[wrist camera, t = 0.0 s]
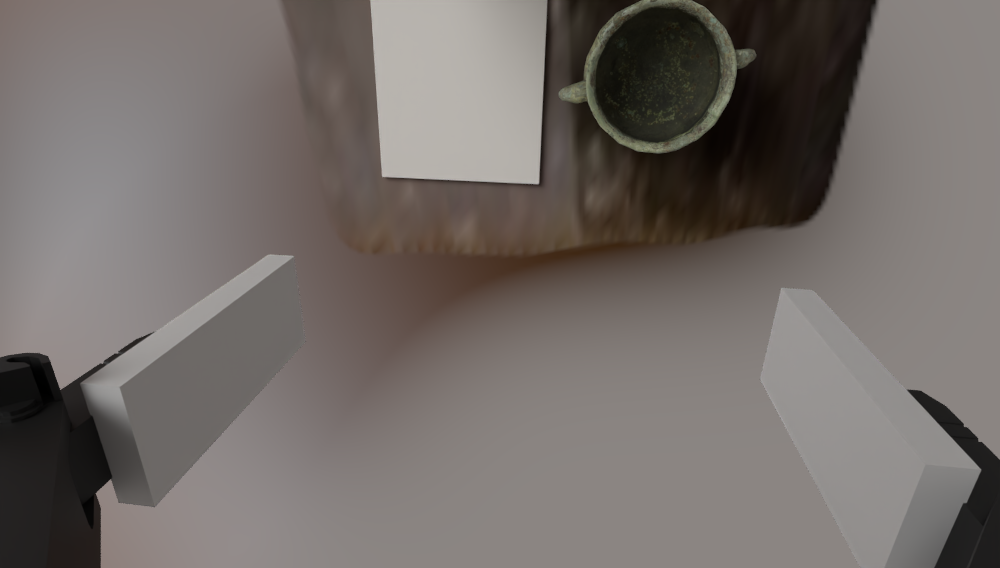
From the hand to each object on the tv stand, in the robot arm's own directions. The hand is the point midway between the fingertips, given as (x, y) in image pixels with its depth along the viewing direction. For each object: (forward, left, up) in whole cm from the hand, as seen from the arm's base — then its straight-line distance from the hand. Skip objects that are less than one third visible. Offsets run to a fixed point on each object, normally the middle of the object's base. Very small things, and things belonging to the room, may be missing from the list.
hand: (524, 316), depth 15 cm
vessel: (-5, +6, -28) cm, 29 cm away
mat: (-5, -7, -28) cm, 29 cm away
